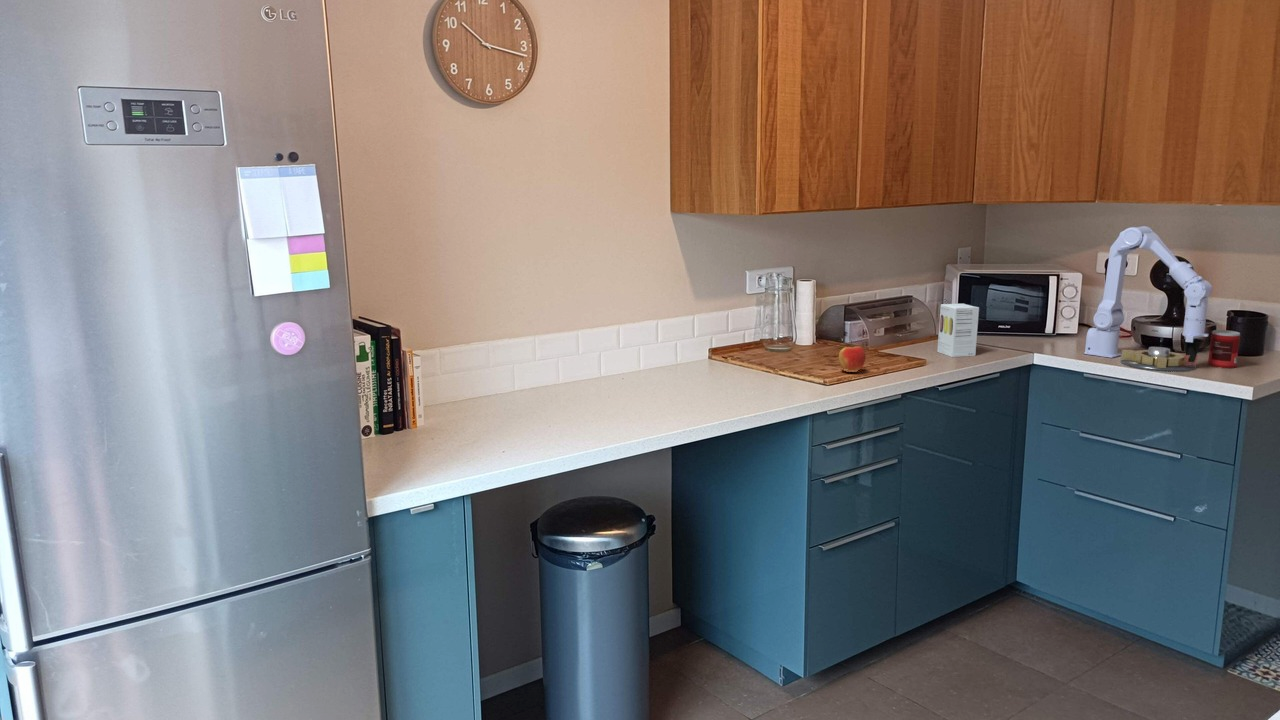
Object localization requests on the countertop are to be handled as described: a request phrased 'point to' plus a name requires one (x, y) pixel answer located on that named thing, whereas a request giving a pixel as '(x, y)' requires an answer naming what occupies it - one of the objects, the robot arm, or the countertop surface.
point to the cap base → (1155, 352)
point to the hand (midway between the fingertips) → (1190, 361)
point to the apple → (852, 358)
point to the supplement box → (958, 330)
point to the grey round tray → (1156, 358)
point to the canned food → (1224, 348)
